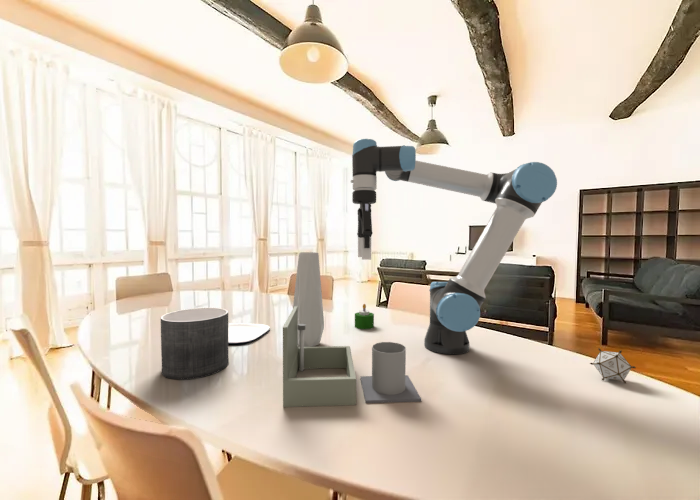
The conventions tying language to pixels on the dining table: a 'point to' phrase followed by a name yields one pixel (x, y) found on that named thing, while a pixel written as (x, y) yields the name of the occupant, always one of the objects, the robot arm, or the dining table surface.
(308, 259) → the vase
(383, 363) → the cup
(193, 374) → the planter
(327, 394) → the case
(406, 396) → the mat
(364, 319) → the candle
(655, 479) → the dining table surface
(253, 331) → the plate
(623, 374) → the game die
